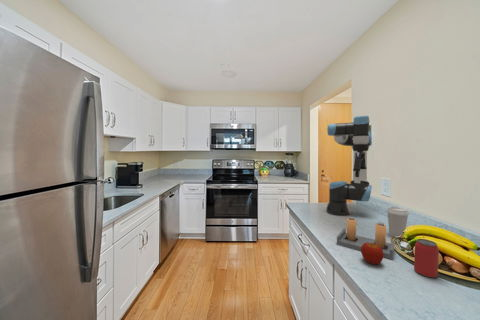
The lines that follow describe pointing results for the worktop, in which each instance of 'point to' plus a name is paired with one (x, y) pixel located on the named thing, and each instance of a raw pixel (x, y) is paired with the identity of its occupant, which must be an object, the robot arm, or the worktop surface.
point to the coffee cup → (397, 220)
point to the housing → (369, 241)
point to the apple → (372, 253)
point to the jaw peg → (351, 229)
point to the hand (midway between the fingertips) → (359, 181)
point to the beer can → (426, 258)
